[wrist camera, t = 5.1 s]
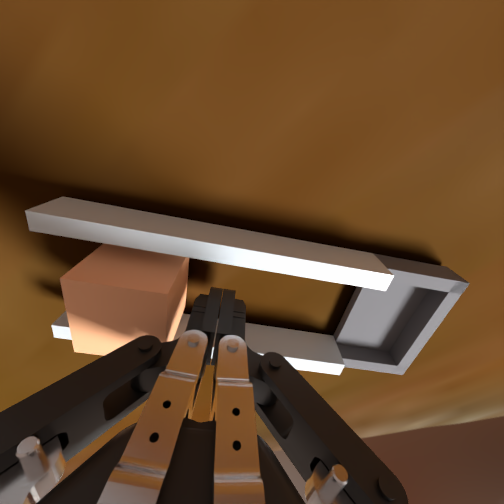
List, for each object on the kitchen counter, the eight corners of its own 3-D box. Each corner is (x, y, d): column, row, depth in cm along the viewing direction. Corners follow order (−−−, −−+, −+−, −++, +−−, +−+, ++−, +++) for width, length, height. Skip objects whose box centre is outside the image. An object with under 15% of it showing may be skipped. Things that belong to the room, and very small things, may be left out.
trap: (446, 267, 15) (469, 283, 14) (390, 354, 19) (402, 374, 17) (372, 253, 15) (387, 268, 13) (328, 345, 19) (336, 365, 17)
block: (190, 248, 15) (167, 294, 11) (185, 306, 17) (164, 362, 13) (113, 235, 14) (59, 278, 10) (117, 296, 16) (74, 351, 12)
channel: (372, 253, 15) (394, 275, 13) (328, 345, 19) (339, 375, 16) (62, 196, 13) (24, 210, 11) (80, 309, 17) (54, 337, 15)
